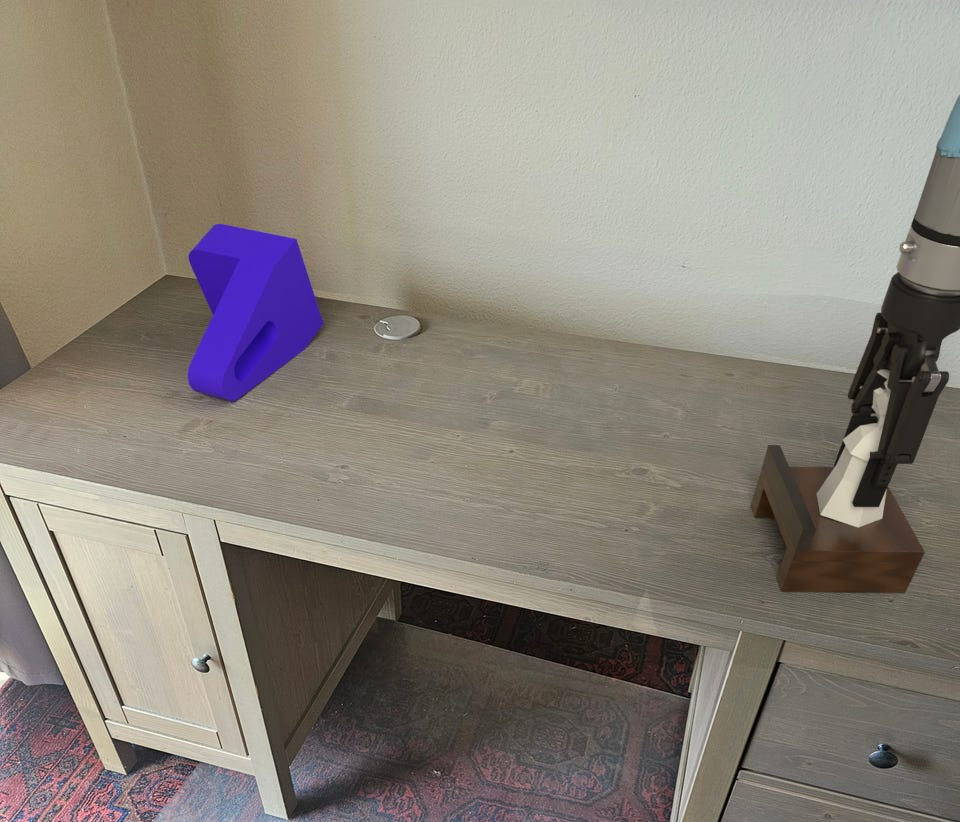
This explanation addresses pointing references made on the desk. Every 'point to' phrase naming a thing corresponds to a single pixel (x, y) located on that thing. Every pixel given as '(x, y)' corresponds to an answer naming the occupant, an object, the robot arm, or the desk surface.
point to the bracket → (250, 309)
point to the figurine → (855, 468)
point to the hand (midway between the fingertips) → (855, 485)
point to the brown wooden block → (832, 536)
